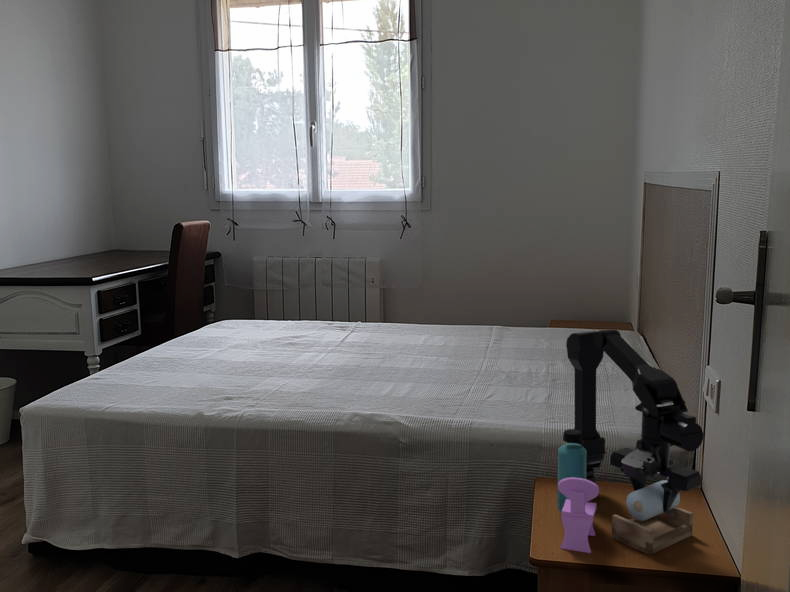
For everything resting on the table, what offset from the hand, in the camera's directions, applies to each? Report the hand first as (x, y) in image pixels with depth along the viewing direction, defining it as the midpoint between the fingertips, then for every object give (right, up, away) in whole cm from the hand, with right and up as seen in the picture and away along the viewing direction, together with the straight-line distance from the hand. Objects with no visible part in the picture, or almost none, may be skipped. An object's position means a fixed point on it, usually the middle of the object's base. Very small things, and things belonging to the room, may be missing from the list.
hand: (652, 506), depth 159 cm
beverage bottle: (-15, -5, +11) cm, 19 cm away
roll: (0, -2, 0) cm, 2 cm away
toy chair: (-16, -7, -1) cm, 17 cm away
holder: (0, -7, +1) cm, 7 cm away
